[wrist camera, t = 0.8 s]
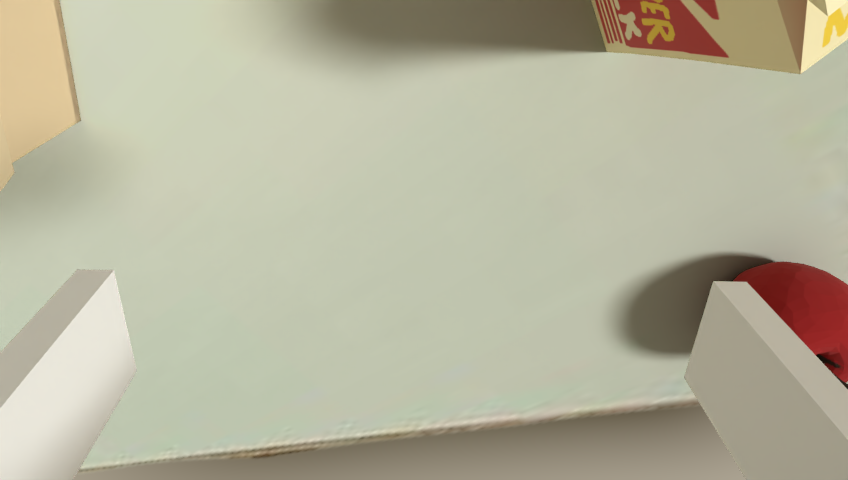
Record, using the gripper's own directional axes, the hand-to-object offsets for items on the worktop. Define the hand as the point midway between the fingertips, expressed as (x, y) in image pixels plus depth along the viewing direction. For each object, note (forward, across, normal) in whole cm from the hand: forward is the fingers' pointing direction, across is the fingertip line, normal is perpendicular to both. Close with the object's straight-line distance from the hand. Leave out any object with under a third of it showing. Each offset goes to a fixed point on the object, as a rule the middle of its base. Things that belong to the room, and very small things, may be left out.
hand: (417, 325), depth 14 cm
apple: (+27, +27, -16) cm, 42 cm away
